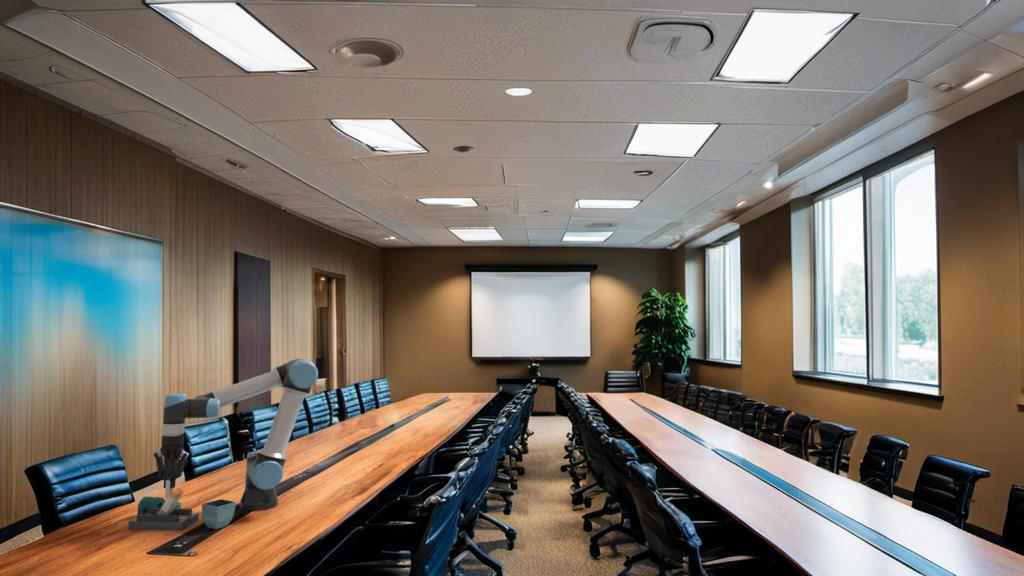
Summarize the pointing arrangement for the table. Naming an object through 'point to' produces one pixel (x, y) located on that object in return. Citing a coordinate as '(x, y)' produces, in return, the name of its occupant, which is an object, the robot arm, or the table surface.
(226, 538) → the table surface
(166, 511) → the breaker lever
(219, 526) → the flower pot
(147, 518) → the dark grey rectangular piece
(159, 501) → the bracket
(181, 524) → the breaker panel
